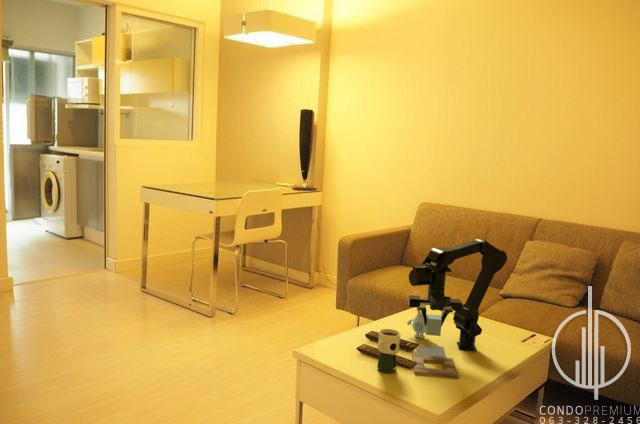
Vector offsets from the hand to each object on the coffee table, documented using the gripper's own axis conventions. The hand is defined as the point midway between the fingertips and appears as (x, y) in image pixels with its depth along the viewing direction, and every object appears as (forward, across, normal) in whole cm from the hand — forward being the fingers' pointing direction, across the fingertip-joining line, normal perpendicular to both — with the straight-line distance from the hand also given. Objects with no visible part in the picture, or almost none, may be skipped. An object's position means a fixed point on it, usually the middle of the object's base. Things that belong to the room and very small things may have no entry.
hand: (433, 326), depth 195 cm
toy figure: (+10, -3, +14) cm, 17 cm away
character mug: (+10, -16, -19) cm, 27 cm away
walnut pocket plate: (+10, 0, -13) cm, 16 cm away
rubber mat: (+10, 0, 0) cm, 10 cm away
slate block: (+2, 0, 0) cm, 2 cm away
